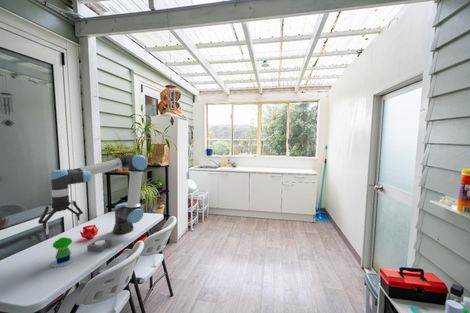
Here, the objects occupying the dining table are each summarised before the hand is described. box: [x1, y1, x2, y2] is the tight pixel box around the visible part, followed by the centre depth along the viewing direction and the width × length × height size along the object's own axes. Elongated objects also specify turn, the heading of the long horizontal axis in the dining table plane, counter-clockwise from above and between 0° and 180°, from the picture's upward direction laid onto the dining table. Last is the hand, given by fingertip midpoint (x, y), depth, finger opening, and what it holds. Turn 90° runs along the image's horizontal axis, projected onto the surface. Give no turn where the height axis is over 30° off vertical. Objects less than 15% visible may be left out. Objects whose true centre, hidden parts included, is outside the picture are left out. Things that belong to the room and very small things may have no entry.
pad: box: [50, 255, 76, 269], centre depth 120 cm, size 11×11×1 cm
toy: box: [52, 237, 73, 264], centre depth 119 cm, size 9×9×15 cm
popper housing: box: [86, 238, 113, 253], centre depth 136 cm, size 10×10×4 cm
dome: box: [95, 240, 105, 245], centre depth 136 cm, size 6×6×3 cm
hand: (62, 229), depth 119 cm, fingers open, 13 cm apart
